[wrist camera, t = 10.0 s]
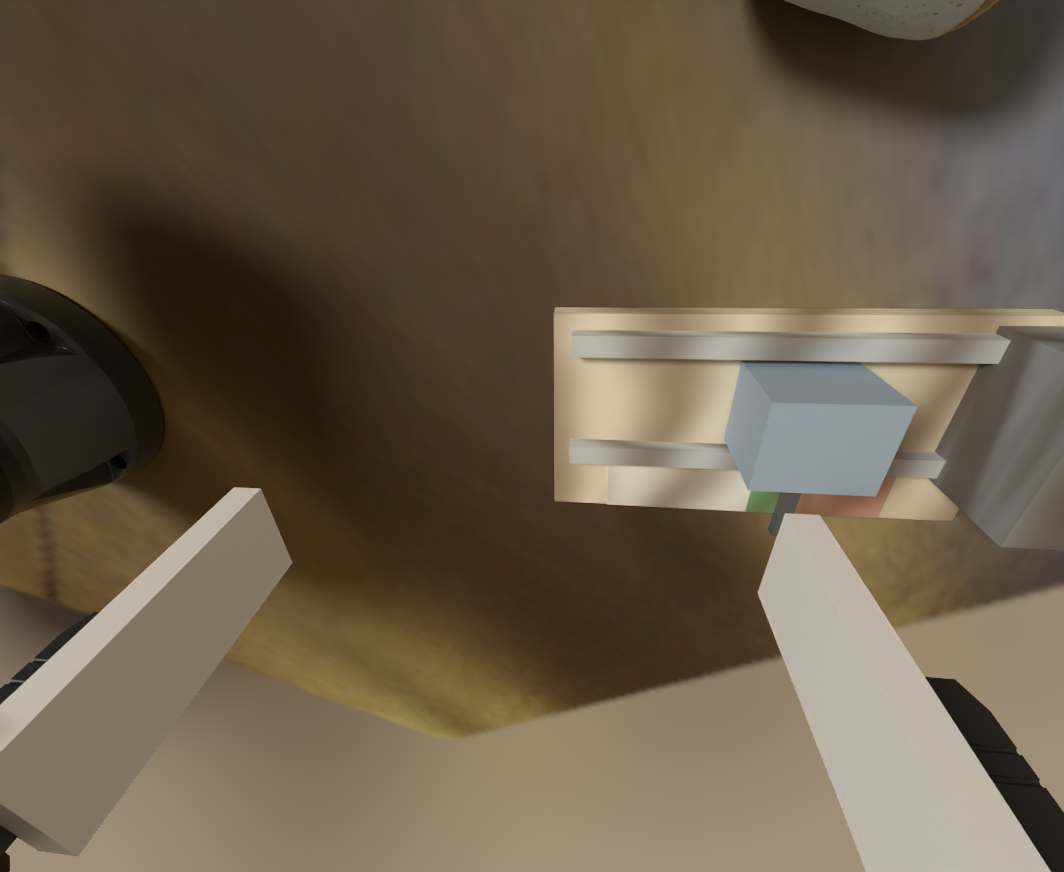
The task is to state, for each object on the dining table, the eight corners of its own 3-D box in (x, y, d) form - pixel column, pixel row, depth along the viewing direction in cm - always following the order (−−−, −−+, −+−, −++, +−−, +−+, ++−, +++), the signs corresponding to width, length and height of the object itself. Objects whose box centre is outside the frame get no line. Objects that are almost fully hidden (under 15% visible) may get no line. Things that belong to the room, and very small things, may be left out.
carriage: (711, 495, 29) (731, 552, 25) (741, 360, 25) (772, 402, 20) (809, 500, 29) (846, 559, 25) (860, 362, 24) (917, 406, 20)
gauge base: (555, 490, 32) (547, 567, 26) (555, 307, 26) (543, 353, 20) (939, 508, 30) (1029, 599, 23) (1052, 309, 23) (1220, 363, 17)
